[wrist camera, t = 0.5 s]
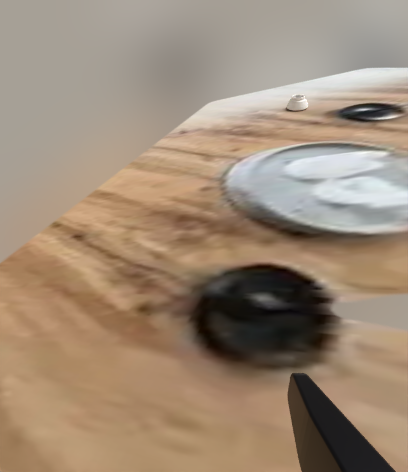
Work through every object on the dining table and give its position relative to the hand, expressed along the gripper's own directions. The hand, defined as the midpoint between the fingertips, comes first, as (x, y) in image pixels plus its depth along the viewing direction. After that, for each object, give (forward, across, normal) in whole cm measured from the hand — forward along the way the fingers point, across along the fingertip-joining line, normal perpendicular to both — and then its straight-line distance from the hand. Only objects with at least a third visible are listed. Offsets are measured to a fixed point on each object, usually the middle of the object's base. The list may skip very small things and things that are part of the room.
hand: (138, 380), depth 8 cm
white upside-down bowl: (+74, -24, -9) cm, 78 cm away
